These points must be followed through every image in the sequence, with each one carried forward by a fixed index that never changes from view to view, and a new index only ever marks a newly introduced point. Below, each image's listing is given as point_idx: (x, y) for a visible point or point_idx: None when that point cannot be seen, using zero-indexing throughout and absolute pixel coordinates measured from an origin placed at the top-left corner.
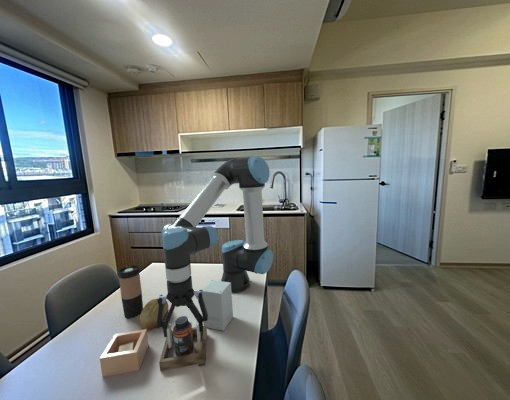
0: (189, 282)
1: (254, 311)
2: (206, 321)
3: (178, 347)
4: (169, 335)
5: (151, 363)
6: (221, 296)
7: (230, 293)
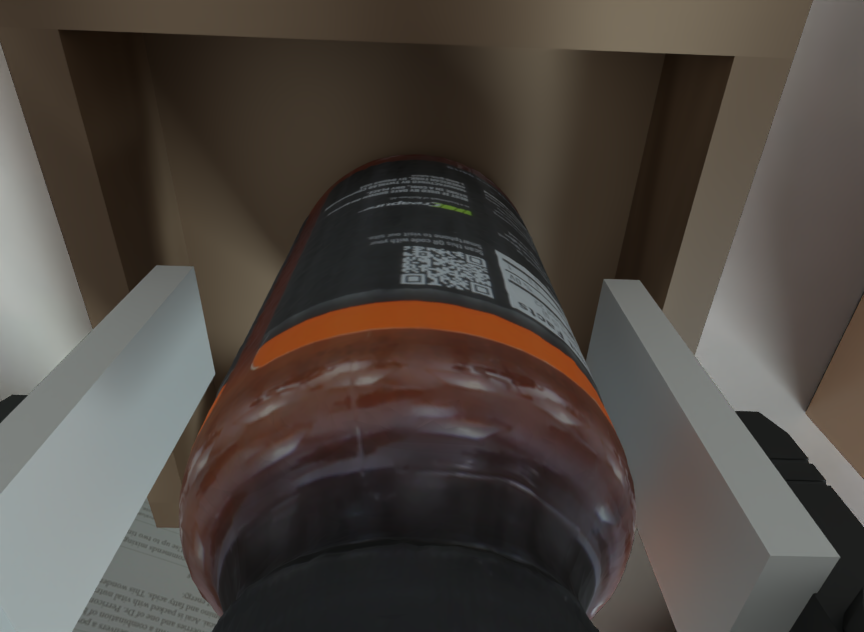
0: None
1: None
2: None
3: (486, 216)
4: (692, 415)
5: (804, 190)
6: None
7: None
